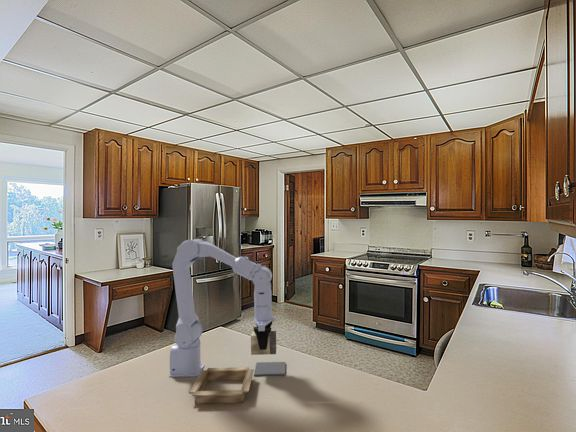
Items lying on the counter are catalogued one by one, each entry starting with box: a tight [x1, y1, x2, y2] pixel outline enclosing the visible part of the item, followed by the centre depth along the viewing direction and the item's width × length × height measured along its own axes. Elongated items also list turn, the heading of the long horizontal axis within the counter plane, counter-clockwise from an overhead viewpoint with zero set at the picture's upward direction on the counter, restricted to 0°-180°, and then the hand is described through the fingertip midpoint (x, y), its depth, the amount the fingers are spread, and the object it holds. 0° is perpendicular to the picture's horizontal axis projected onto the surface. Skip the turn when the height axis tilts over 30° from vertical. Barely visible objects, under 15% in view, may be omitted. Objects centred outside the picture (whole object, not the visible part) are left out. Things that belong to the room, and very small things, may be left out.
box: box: [250, 330, 277, 356], centre depth 105 cm, size 8×4×6 cm, turn 91°
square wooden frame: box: [188, 366, 255, 404], centre depth 94 cm, size 16×16×3 cm
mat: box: [253, 361, 286, 377], centre depth 107 cm, size 10×9×1 cm
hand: (263, 346), depth 105 cm, fingers closed on box, 4 cm apart
